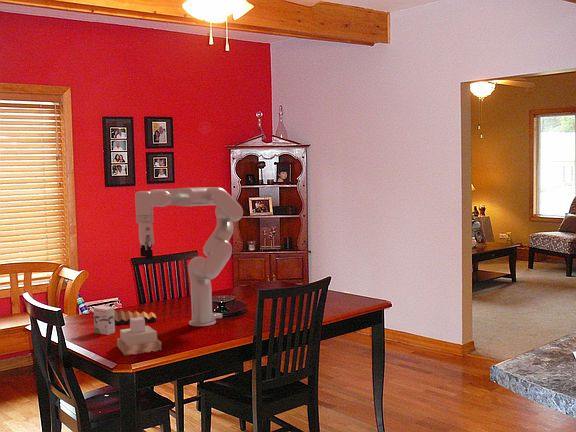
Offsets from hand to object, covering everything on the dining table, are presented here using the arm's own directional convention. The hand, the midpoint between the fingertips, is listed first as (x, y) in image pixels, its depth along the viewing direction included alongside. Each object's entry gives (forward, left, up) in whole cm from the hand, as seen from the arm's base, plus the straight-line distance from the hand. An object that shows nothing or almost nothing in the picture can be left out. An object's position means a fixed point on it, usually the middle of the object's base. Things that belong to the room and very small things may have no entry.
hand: (146, 257), depth 306 cm
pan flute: (+3, -35, -35) cm, 50 cm away
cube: (+10, +22, -27) cm, 36 cm away
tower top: (+9, +22, -31) cm, 39 cm away
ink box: (+18, -12, -35) cm, 41 cm away
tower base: (+9, +22, -35) cm, 42 cm away
